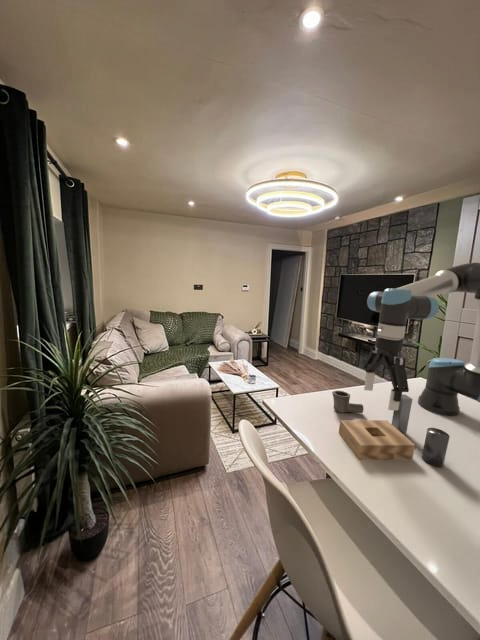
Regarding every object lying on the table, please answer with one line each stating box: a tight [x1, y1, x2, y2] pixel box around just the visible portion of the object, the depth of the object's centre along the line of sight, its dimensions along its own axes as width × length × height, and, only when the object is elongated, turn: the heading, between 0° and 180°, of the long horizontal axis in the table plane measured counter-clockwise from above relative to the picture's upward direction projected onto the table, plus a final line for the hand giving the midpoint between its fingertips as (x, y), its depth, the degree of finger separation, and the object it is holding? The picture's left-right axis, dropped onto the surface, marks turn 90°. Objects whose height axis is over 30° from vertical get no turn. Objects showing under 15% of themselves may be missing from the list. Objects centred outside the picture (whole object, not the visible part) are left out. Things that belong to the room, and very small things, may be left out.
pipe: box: [331, 390, 364, 414], centre depth 110 cm, size 6×13×8 cm, turn 78°
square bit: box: [391, 394, 413, 435], centre depth 97 cm, size 4×4×14 cm
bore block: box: [338, 419, 416, 461], centre depth 89 cm, size 18×14×5 cm
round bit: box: [421, 427, 451, 469], centre depth 82 cm, size 6×6×10 cm
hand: (379, 399), depth 87 cm, fingers open, 13 cm apart
